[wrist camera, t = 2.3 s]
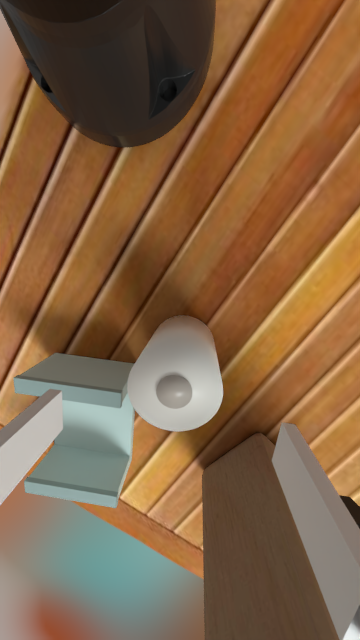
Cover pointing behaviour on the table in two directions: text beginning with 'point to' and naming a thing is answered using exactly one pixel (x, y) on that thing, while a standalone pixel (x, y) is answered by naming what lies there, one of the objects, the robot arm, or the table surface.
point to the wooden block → (256, 554)
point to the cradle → (84, 428)
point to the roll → (177, 376)
